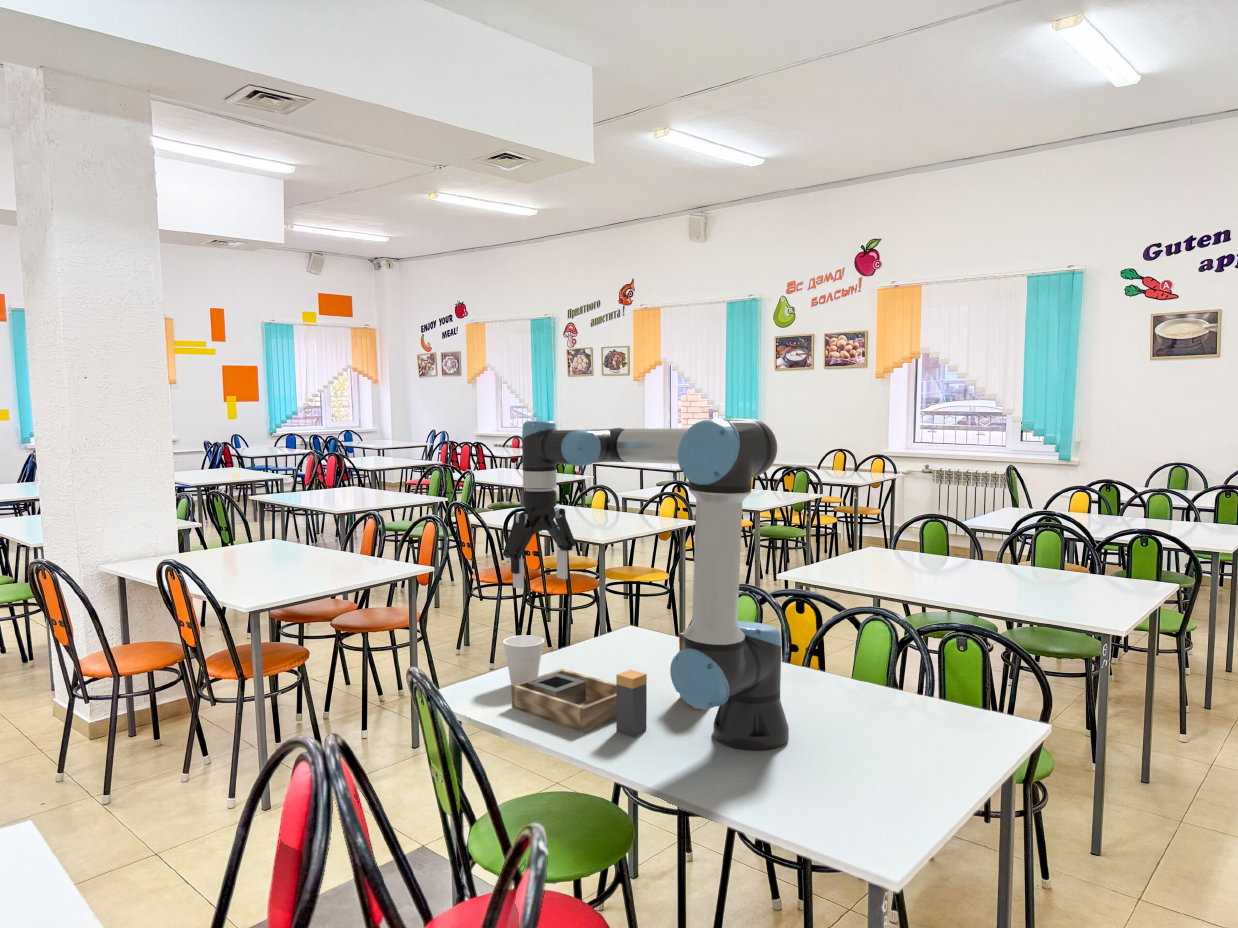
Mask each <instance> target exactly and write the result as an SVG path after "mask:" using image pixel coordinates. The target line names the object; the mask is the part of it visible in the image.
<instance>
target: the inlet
mask: <svg viewBox="0 0 1238 928" xmlns="http://www.w3.org/2000/svg"><path fill="white" fill-rule="evenodd" d="M527 689H531V690H534V691H537V692H540V693H543V694H546V695H549V696H553V697H556V698H559V699H562V700H565V701H568V702H571V703H575V704H579V703H582V702H584V701H586V681H583V680H579V679H576V678H573V677H569V676H566V675H562V674H559V673H554V674H551V675H548V676H545V677H542V678H539V679H536V680H533V681H530V682H527Z"/></svg>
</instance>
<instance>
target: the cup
mask: <svg viewBox="0 0 1238 928" xmlns="http://www.w3.org/2000/svg"><path fill="white" fill-rule="evenodd" d="M544 643H545V638H543V637H541V636H538V635H533V634H532V635H527V634H524V635H523V634H521V635H514V636H510V637H506V638H505V639H503V641H502V644H503V645H504V652H505V658H506V661H507V666H508V667H507V668H508V674H509V680H510V685H511V686H512V685H515V684H518V683H521V682H524V681H527V680H530V679H533V678H536V677H539V673H540V664H541V659H542V654H543V646H544Z"/></svg>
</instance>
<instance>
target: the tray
mask: <svg viewBox="0 0 1238 928" xmlns="http://www.w3.org/2000/svg"><path fill="white" fill-rule="evenodd" d="M554 673H559V674H562V675H566V676H569V677H573V678H576V679H579V680H583V681H586V701H584V702H582V703H579V704H575V703H571V702H568V701H565V700H562V699H559V698H556V697H553V696H549V695H546V694H543V693H540V692H537V691H534V690H531V689H527V682H530V681H533V680H536V679H539V678H542V677H545V676H548V675H551V674H554ZM511 708H512V709H515V710H517V711H519V712H520V711H521V712H523V713H526V714H529V715H532V716H535V717H538V718H541V719H544V720H547V721H549V722H553V723H554V724H559V725H561V726H565V727H567V728H569V729H572V730H576V731H577V732H578V731H579V732H582V733H585V732H588V731H590V730H592V729H595V728H597V727H600V726H602V725H604V724H607V723H609V722H611V721H615V720H616V683H614V682H610V681H607V680H603V679H600V678H596V677H593V676H590V675H587V674H582V673H579V672H575V671H572V670H568V669H565V668H561V669H557V670H555V671H552V672H549V673H545V674H543V675H538V677H536V678H533V679H530V680H527V681H524V682H521V683H518V684H515V685H511Z"/></svg>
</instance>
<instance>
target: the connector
mask: <svg viewBox="0 0 1238 928" xmlns="http://www.w3.org/2000/svg"><path fill="white" fill-rule="evenodd" d="M647 675H648V674H647V673H644V672H640V671H637V670H633V669H628V670H625V671H622V672H620V673H617V674H616V675H615V676H616V677H615V678H616V682H615V684H616V719H615V721H616V723H615V725H616V732H617V733H619V734H622V735H626V736H629V737H632V738H634V737H636V736H638V735H641V734H643V733H644V732H647V708H648V707H647V703H648V702H647V695H648V694H647V691H648V690H647V682H648V681H647V680H648V679H647V678H648V677H647Z"/></svg>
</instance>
